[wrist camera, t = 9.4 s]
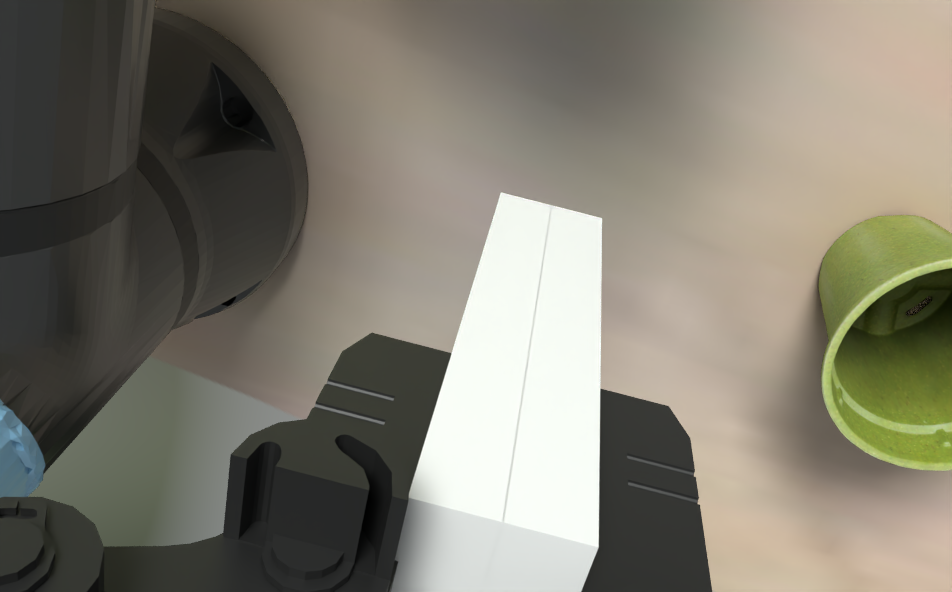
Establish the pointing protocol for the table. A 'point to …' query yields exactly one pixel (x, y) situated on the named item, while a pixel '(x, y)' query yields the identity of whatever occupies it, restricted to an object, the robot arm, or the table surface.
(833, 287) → the plant pot
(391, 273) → the table surface
